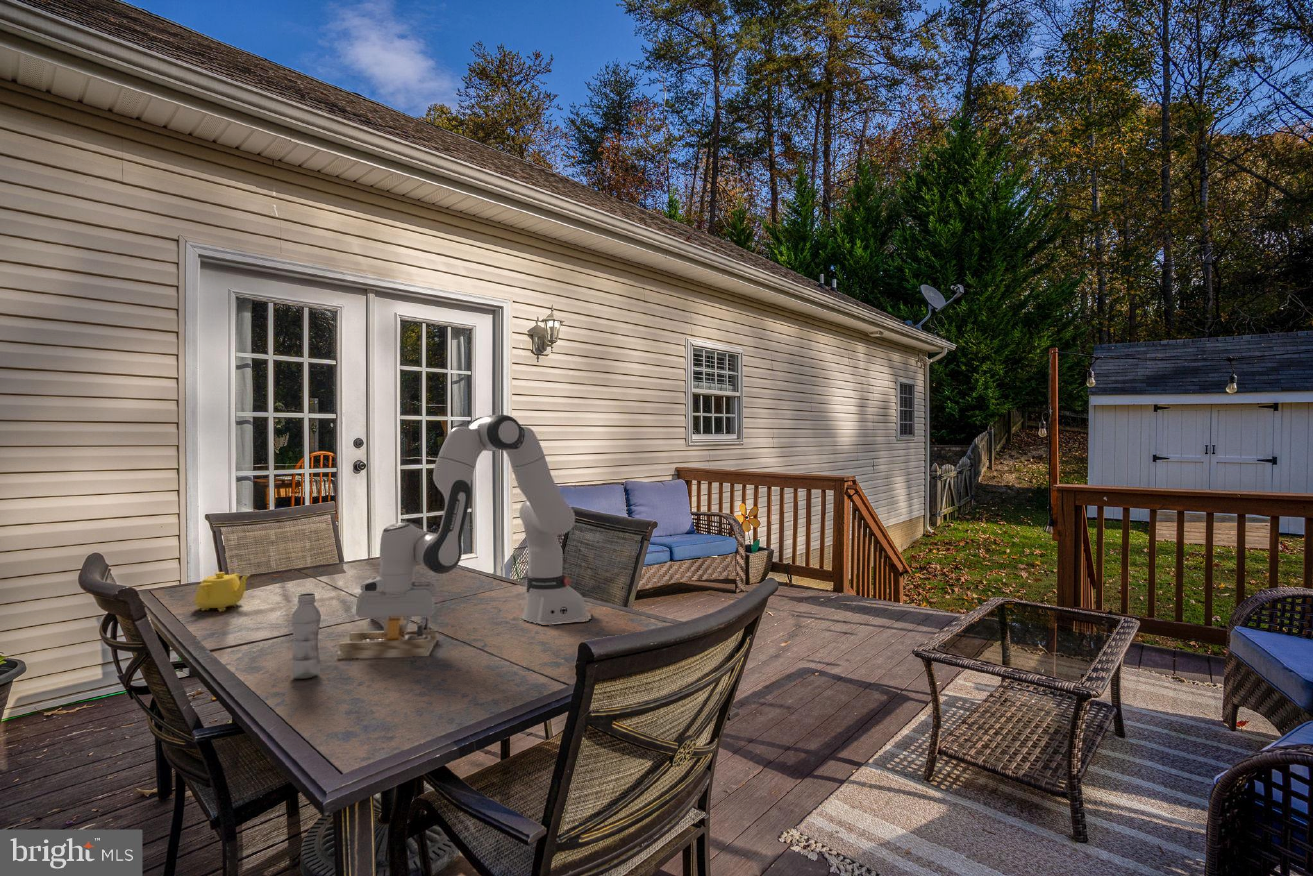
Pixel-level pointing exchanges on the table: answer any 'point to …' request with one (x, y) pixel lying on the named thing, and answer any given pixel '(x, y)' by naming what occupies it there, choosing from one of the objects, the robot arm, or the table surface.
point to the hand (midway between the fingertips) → (395, 632)
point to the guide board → (385, 645)
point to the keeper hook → (422, 626)
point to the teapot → (220, 591)
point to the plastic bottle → (305, 638)
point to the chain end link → (399, 631)
